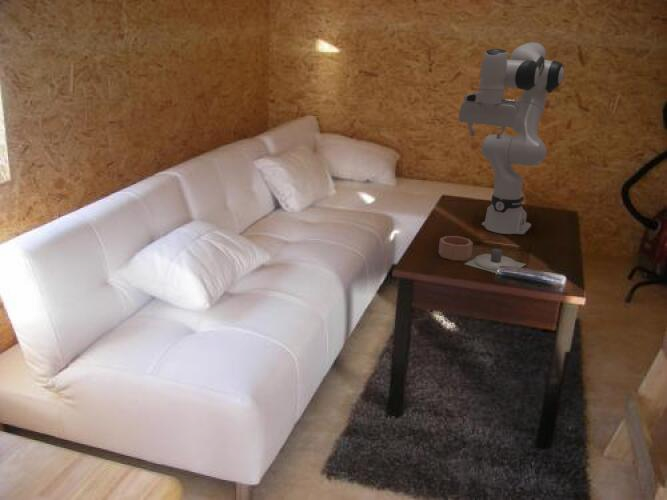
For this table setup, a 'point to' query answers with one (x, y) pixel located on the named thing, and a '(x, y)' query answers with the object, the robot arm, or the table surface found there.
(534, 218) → the table surface
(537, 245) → the table surface
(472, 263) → the mat
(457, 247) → the bowl
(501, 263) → the lid
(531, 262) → the table surface
